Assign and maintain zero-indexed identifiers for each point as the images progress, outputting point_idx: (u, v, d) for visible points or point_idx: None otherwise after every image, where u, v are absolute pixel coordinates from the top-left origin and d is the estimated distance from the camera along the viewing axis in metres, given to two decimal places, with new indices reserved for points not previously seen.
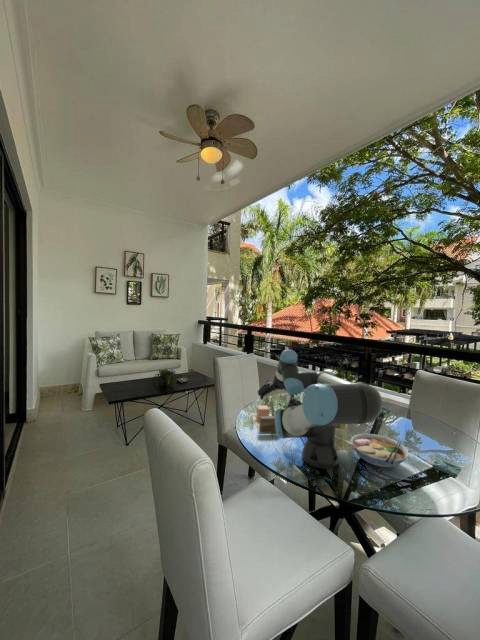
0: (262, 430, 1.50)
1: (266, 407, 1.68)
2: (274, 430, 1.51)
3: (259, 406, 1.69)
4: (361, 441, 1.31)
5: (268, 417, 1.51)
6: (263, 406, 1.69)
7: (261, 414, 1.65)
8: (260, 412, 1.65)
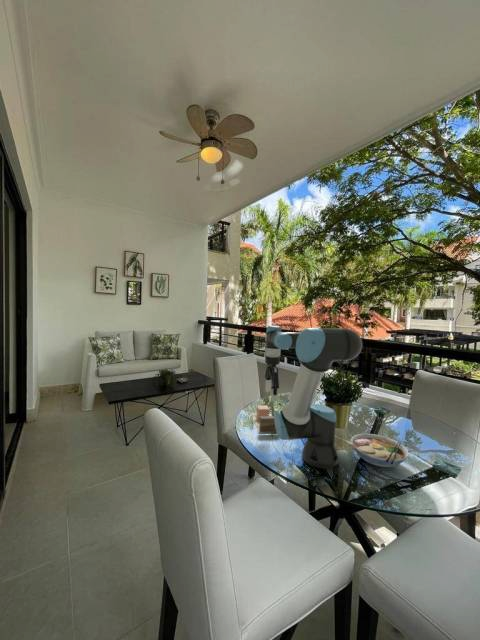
0: (262, 430, 1.50)
1: (266, 407, 1.68)
2: (274, 430, 1.51)
3: (259, 406, 1.69)
4: (361, 441, 1.31)
5: (268, 417, 1.51)
6: (263, 406, 1.69)
7: (261, 414, 1.65)
8: (260, 412, 1.65)
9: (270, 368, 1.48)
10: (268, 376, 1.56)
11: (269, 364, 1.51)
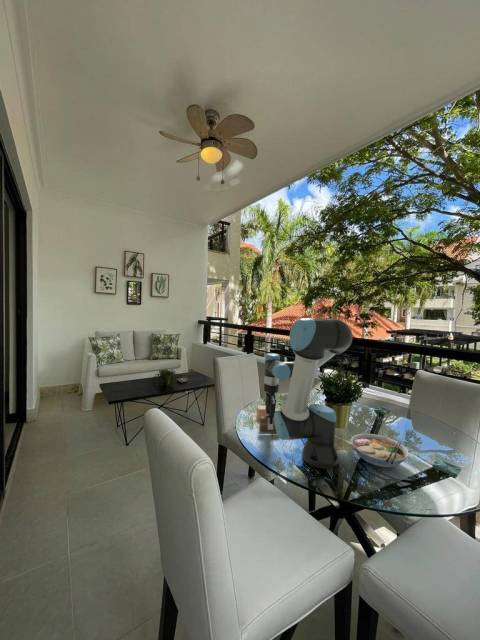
0: (262, 430, 1.50)
1: None
2: (274, 430, 1.51)
3: (259, 406, 1.69)
4: (361, 441, 1.31)
5: None
6: (263, 406, 1.69)
7: (261, 414, 1.65)
8: (260, 412, 1.65)
9: (269, 397, 1.49)
10: (268, 408, 1.53)
11: None
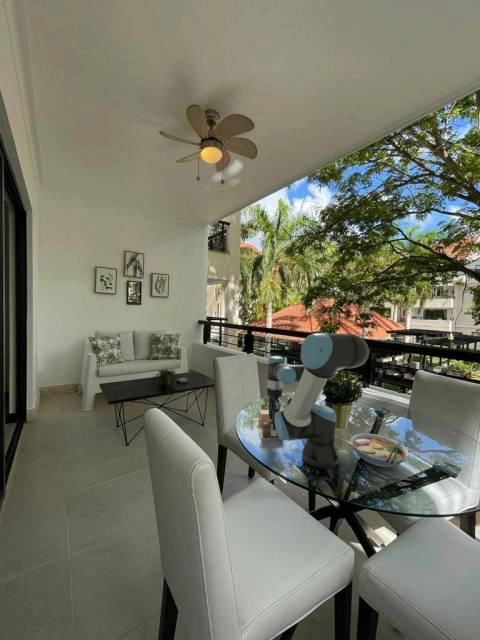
0: (265, 436, 1.43)
1: None
2: (278, 436, 1.44)
3: (262, 411, 1.62)
4: (361, 441, 1.31)
5: None
6: (266, 411, 1.62)
7: (263, 419, 1.58)
8: (262, 417, 1.58)
9: (272, 402, 1.42)
10: (271, 413, 1.46)
11: None
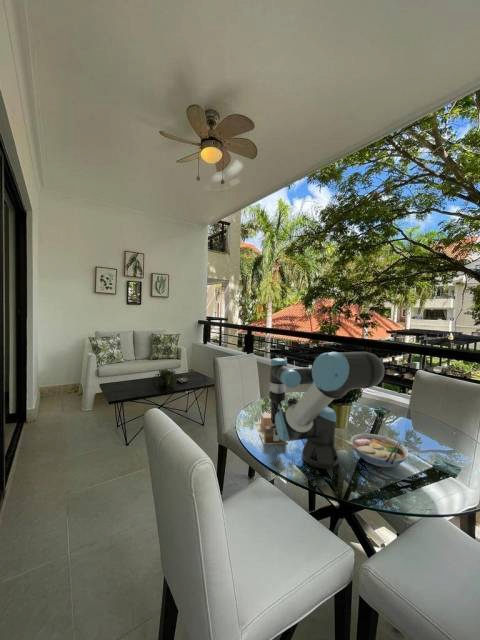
0: (267, 441, 1.38)
1: None
2: (280, 441, 1.39)
3: (263, 414, 1.57)
4: (361, 441, 1.31)
5: None
6: (268, 415, 1.57)
7: (265, 423, 1.53)
8: (264, 421, 1.53)
9: (275, 405, 1.37)
10: (274, 417, 1.41)
11: None
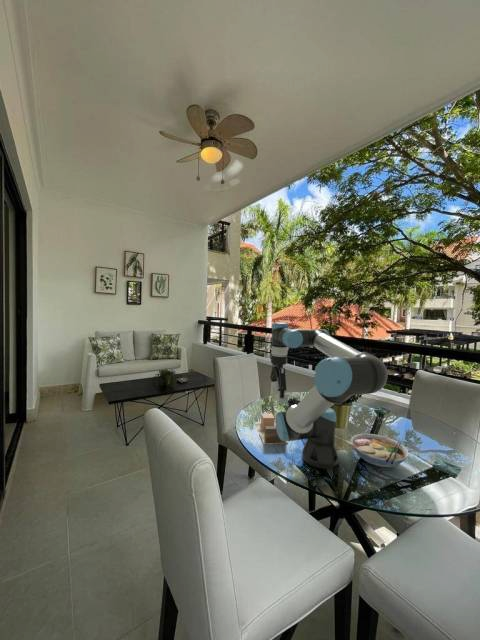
0: (267, 441, 1.38)
1: (271, 415, 1.56)
2: (280, 441, 1.39)
3: (263, 414, 1.57)
4: (361, 441, 1.31)
5: (274, 427, 1.40)
6: (268, 415, 1.57)
7: (265, 423, 1.53)
8: (264, 421, 1.53)
9: (276, 369, 1.36)
10: (274, 377, 1.44)
11: (275, 364, 1.39)
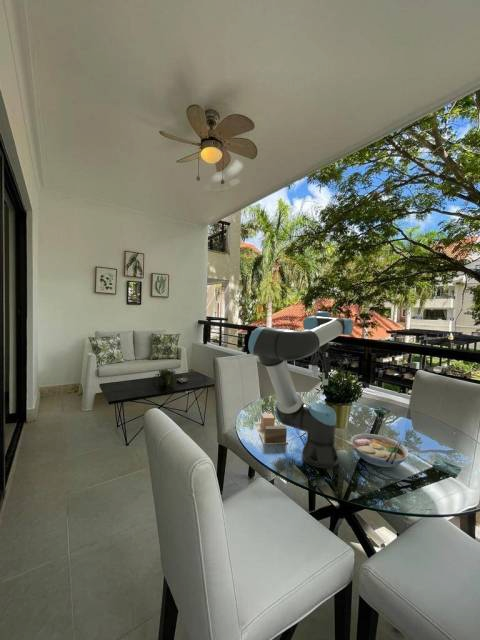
0: (267, 441, 1.38)
1: (271, 415, 1.56)
2: (280, 441, 1.39)
3: (263, 414, 1.57)
4: (361, 441, 1.31)
5: (274, 427, 1.40)
6: (268, 415, 1.57)
7: (265, 423, 1.53)
8: (264, 421, 1.53)
9: (320, 353, 1.51)
10: (315, 361, 1.58)
11: (317, 349, 1.54)
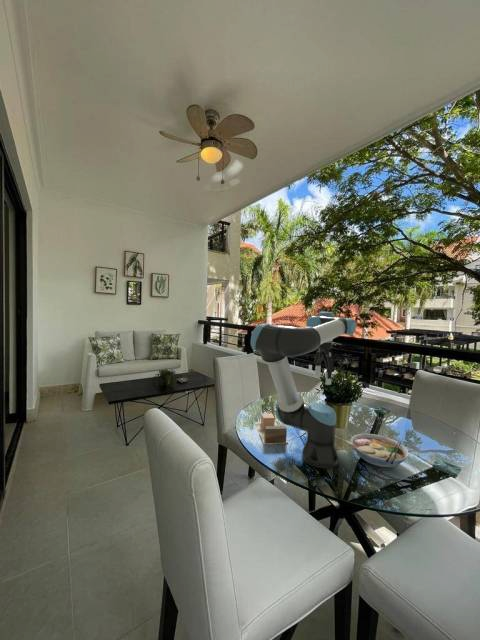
0: (267, 441, 1.38)
1: (271, 415, 1.56)
2: (280, 441, 1.39)
3: (263, 414, 1.57)
4: (361, 441, 1.31)
5: (274, 427, 1.40)
6: (268, 415, 1.57)
7: (265, 423, 1.53)
8: (264, 421, 1.53)
9: (323, 353, 1.52)
10: (318, 362, 1.59)
11: (321, 349, 1.55)
